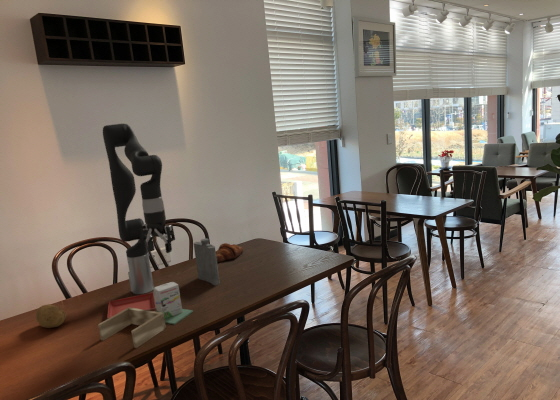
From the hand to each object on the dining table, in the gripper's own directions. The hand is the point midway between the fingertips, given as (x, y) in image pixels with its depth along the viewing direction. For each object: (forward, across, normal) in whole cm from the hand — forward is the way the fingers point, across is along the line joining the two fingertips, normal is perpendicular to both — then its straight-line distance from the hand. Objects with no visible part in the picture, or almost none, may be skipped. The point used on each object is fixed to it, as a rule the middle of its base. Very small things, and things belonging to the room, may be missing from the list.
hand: (160, 251), depth 162 cm
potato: (+26, -41, -21) cm, 53 cm away
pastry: (+27, -18, +67) cm, 74 cm away
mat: (+26, 0, 0) cm, 26 cm away
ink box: (+26, 0, 0) cm, 26 cm away
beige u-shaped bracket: (+26, -3, -16) cm, 31 cm away
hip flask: (+26, -7, +35) cm, 44 cm away
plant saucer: (+27, -19, -1) cm, 33 cm away
